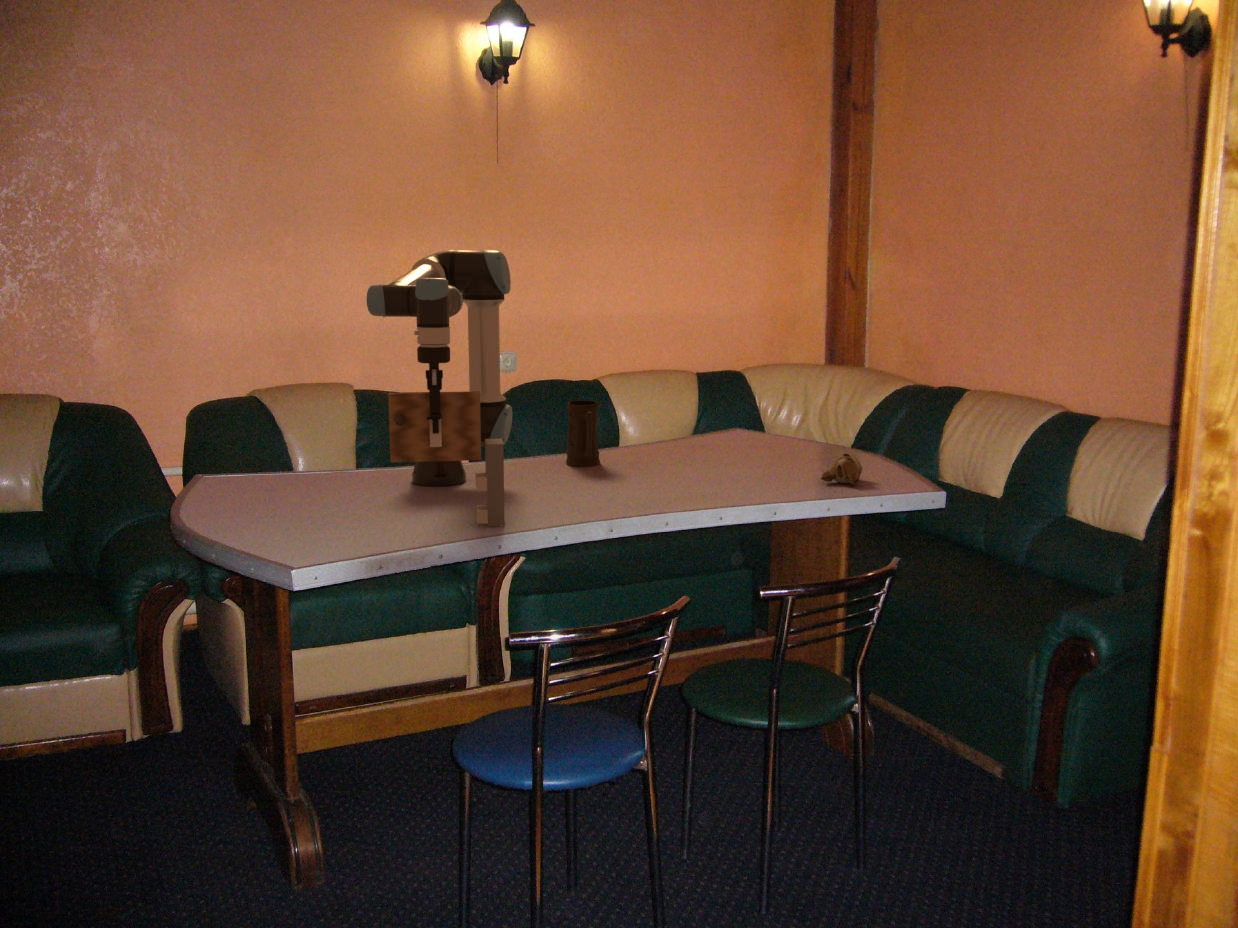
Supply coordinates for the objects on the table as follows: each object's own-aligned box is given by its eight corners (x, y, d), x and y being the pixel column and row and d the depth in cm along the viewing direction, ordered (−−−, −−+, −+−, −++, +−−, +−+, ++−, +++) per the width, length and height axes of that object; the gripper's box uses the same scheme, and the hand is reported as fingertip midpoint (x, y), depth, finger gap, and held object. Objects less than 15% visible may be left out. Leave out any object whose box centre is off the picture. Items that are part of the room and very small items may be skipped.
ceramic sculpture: (870, 449, 310) (856, 461, 297) (870, 478, 312) (855, 491, 299) (835, 446, 315) (819, 458, 302) (834, 475, 317) (818, 488, 304)
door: (390, 463, 248) (388, 394, 245) (391, 459, 253) (388, 392, 250) (481, 461, 252) (480, 393, 249) (480, 457, 256) (479, 391, 253)
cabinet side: (477, 527, 255) (475, 445, 251) (476, 519, 263) (474, 439, 259) (504, 526, 256) (503, 444, 252) (502, 518, 264) (501, 438, 260)
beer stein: (560, 461, 335) (561, 399, 330) (590, 458, 339) (592, 398, 334) (578, 473, 322) (580, 409, 317) (610, 470, 326) (612, 407, 321)
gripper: (417, 342, 255) (420, 439, 259) (416, 348, 239) (419, 451, 244) (449, 342, 256) (451, 439, 261) (450, 348, 241) (452, 451, 245)
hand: (436, 445), depth 252 cm, fingers closed on door, 3 cm apart
